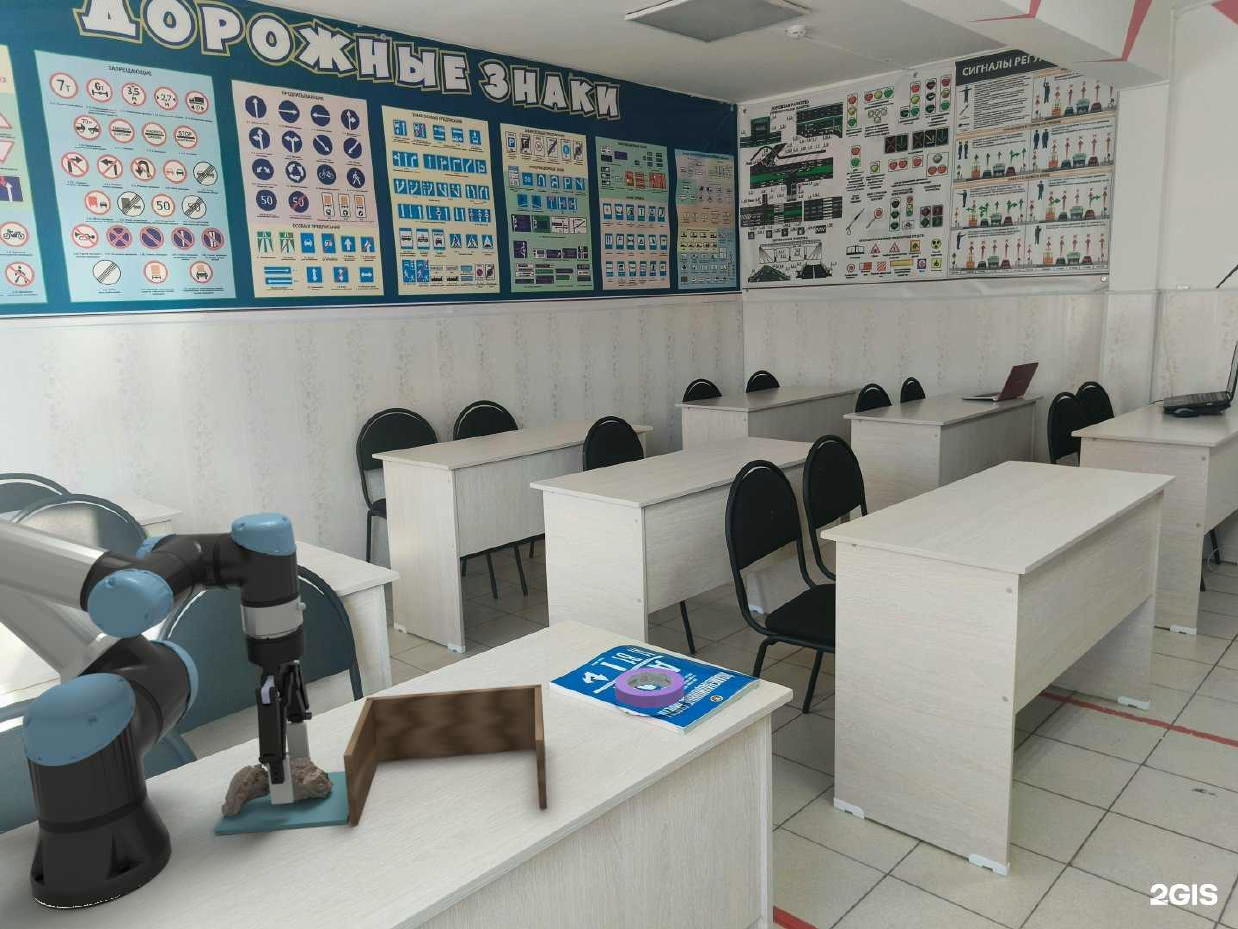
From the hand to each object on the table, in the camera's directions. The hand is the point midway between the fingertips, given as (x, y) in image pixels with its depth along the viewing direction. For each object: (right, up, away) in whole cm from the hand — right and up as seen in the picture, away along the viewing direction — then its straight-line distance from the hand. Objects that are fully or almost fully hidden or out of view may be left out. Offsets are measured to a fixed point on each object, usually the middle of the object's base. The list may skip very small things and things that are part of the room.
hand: (291, 783), depth 125 cm
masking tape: (+51, +4, +28) cm, 58 cm away
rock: (-1, -3, 0) cm, 3 cm away
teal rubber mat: (0, -3, +1) cm, 3 cm away
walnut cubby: (+22, -1, +4) cm, 22 cm away
